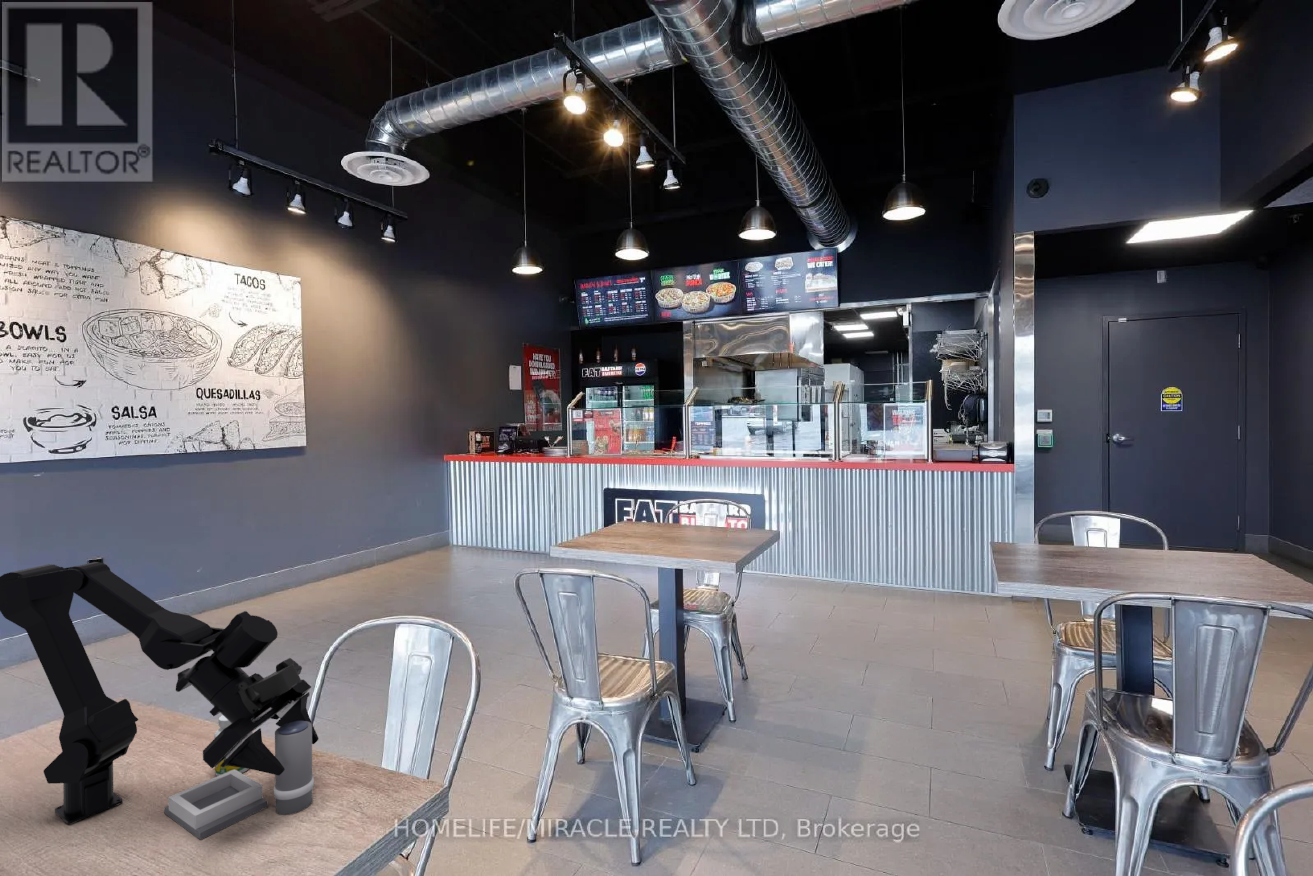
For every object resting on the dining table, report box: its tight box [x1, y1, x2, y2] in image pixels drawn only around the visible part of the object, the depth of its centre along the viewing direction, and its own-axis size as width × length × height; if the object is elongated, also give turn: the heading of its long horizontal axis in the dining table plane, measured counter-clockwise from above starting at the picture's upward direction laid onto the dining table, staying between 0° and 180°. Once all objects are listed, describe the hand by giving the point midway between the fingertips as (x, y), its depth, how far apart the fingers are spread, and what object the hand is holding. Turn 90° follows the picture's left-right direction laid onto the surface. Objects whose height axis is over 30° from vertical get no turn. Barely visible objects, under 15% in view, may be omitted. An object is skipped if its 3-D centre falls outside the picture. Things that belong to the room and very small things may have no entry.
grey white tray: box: [164, 769, 268, 841], centre depth 94 cm, size 12×9×3 cm
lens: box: [273, 721, 315, 816], centre depth 95 cm, size 5×5×12 cm
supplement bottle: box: [213, 714, 249, 777], centre depth 106 cm, size 5×5×10 cm
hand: (300, 756), depth 95 cm, fingers open, 9 cm apart
